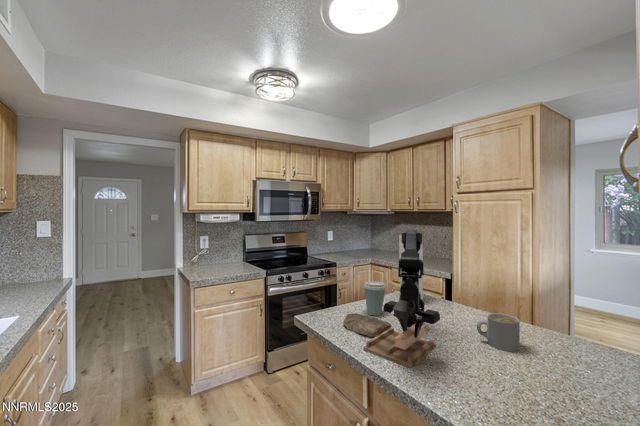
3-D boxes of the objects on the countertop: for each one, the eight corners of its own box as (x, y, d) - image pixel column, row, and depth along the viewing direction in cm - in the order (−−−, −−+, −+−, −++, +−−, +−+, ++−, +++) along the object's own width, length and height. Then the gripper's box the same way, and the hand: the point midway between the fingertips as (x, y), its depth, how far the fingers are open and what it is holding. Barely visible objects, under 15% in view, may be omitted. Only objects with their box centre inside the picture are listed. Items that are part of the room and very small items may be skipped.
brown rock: (335, 326, 129) (371, 340, 114) (335, 314, 129) (371, 327, 114) (357, 318, 138) (393, 331, 123) (357, 308, 138) (393, 319, 123)
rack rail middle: (410, 336, 114) (410, 332, 114) (412, 337, 113) (412, 333, 113) (386, 354, 101) (386, 349, 101) (388, 355, 100) (388, 350, 100)
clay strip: (415, 331, 112) (415, 323, 112) (425, 333, 109) (425, 325, 109) (395, 346, 100) (394, 337, 100) (405, 349, 97) (404, 340, 97)
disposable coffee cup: (363, 309, 148) (363, 279, 148) (385, 310, 147) (385, 279, 147) (363, 317, 138) (363, 284, 138) (387, 318, 136) (387, 285, 136)
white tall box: (420, 298, 165) (420, 235, 164) (422, 304, 154) (422, 237, 154) (399, 297, 167) (399, 235, 167) (400, 303, 157) (399, 237, 156)
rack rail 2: (431, 343, 109) (431, 338, 109) (433, 344, 108) (433, 339, 108) (408, 362, 95) (407, 357, 95) (410, 363, 95) (410, 358, 95)
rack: (392, 332, 121) (392, 330, 121) (436, 346, 108) (436, 343, 108) (363, 350, 106) (363, 347, 106) (410, 368, 94) (410, 365, 94)
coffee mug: (520, 343, 110) (520, 316, 110) (518, 354, 102) (518, 325, 102) (479, 334, 118) (479, 309, 118) (475, 343, 110) (475, 317, 110)
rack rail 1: (391, 331, 120) (391, 327, 120) (394, 331, 119) (394, 327, 119) (366, 346, 106) (366, 342, 106) (368, 347, 106) (368, 343, 106)
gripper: (374, 291, 105) (375, 335, 105) (426, 302, 92) (426, 352, 92) (391, 285, 113) (391, 326, 113) (440, 294, 100) (440, 340, 100)
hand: (410, 335), depth 104 cm, fingers closed on clay strip, 4 cm apart
